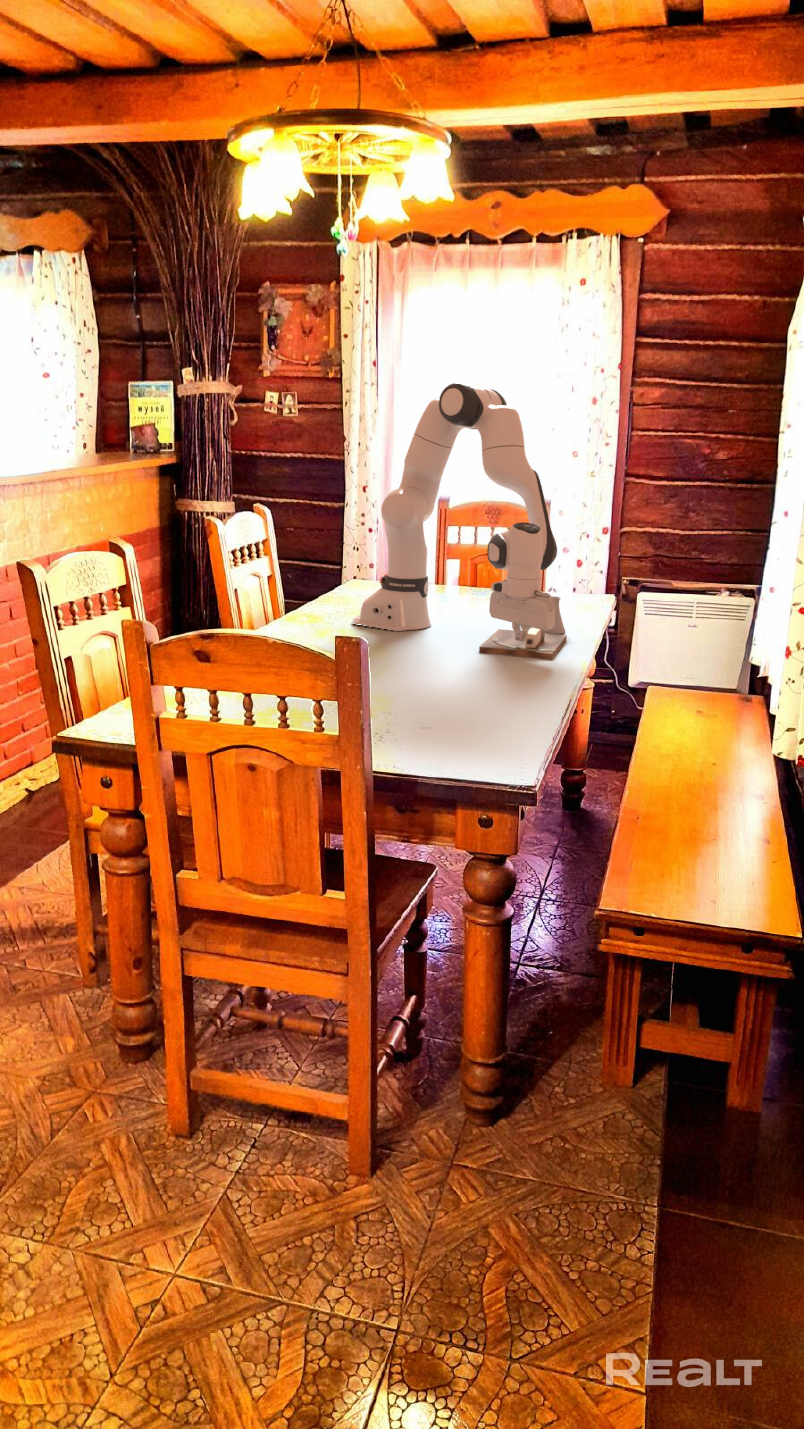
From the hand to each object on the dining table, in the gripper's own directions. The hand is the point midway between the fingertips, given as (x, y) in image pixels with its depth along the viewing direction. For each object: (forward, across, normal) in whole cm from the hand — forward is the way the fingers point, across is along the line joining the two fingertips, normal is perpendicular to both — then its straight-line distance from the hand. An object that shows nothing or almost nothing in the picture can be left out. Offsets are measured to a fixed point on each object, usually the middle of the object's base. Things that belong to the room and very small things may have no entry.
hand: (520, 640), depth 270 cm
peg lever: (+1, 0, -5) cm, 5 cm away
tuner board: (+3, +4, -6) cm, 7 cm away
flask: (+4, +11, -25) cm, 27 cm away
